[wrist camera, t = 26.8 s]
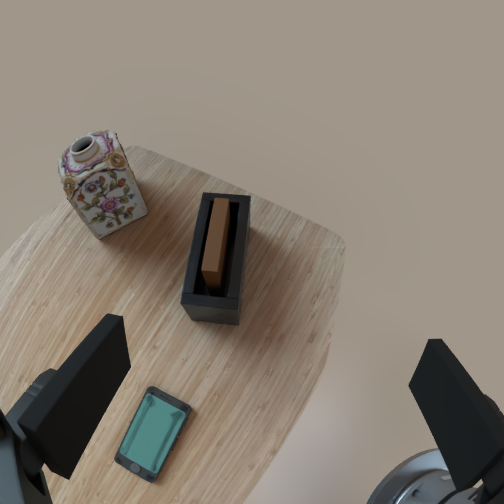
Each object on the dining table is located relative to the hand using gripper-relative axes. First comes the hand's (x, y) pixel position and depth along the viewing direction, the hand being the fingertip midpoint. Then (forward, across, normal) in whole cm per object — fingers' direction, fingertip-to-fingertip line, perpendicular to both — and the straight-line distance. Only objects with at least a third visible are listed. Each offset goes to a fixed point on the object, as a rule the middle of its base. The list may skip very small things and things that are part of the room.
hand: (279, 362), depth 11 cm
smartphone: (+16, -14, -31) cm, 38 cm away
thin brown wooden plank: (+36, -7, -10) cm, 38 cm away
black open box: (+37, -7, -11) cm, 39 cm away
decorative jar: (+45, -30, -3) cm, 54 cm away
